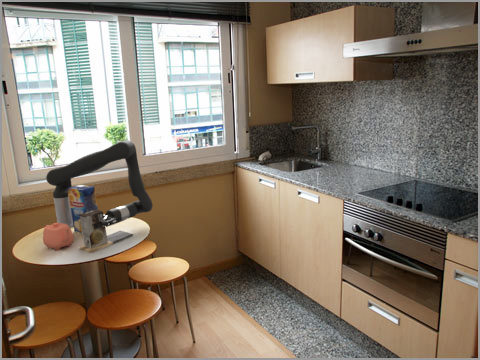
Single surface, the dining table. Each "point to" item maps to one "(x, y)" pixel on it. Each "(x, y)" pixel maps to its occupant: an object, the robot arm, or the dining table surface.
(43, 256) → the dining table surface
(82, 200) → the juice carton
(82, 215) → the coffee box
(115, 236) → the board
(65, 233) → the teapot
